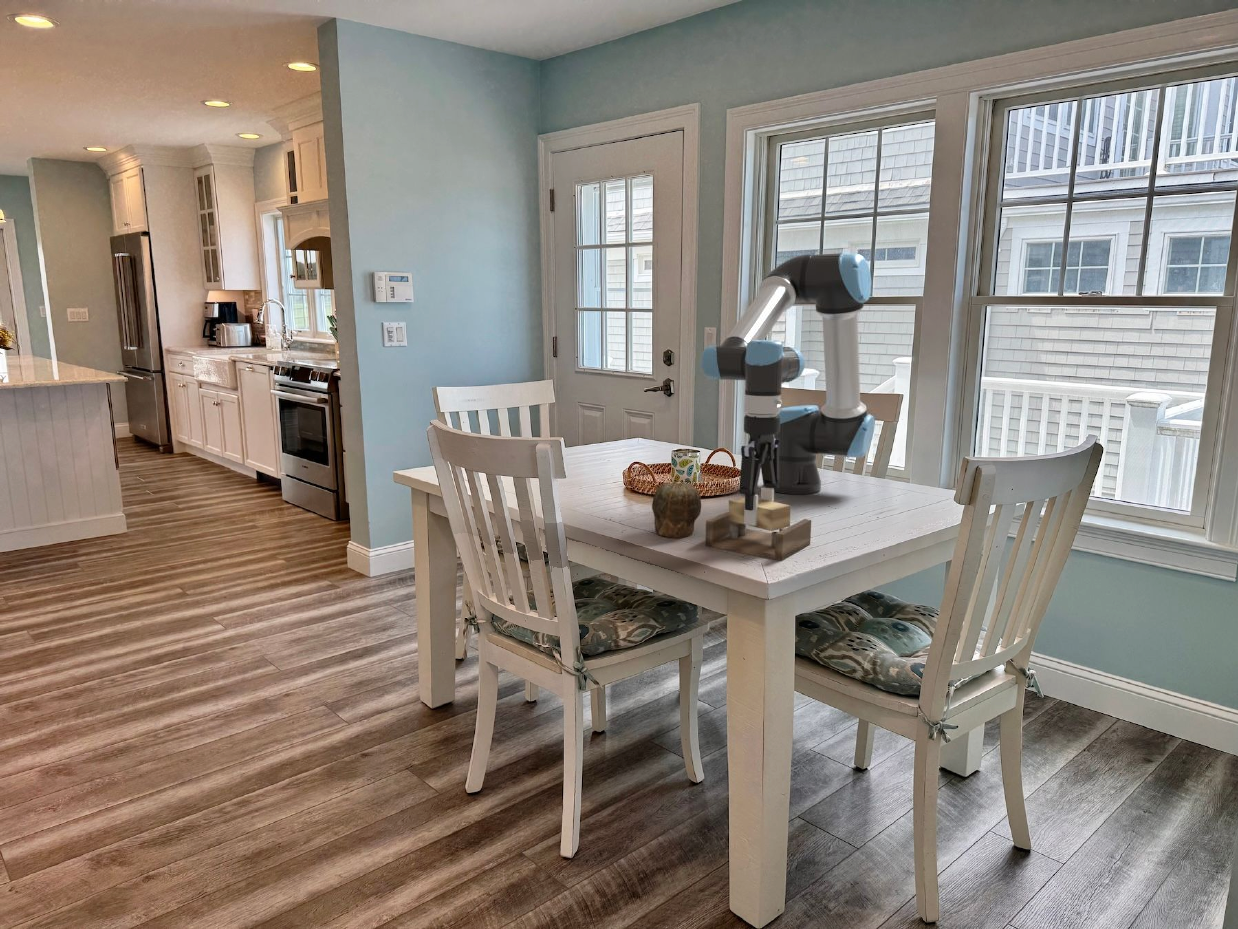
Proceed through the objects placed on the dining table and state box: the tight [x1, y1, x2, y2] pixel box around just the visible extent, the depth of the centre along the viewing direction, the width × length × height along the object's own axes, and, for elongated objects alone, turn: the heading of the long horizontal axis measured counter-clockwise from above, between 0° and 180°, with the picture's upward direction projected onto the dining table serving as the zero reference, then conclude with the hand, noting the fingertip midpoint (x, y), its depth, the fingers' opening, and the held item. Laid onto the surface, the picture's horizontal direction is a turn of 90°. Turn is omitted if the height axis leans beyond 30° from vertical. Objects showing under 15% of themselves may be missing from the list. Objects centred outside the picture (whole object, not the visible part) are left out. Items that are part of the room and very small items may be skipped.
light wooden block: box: [728, 496, 792, 532], centre depth 179 cm, size 12×6×4 cm, turn 40°
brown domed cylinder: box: [651, 481, 702, 539], centre depth 188 cm, size 11×11×12 cm
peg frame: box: [705, 511, 812, 562], centre depth 180 cm, size 18×14×6 cm
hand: (758, 520), depth 179 cm, fingers closed on light wooden block, 7 cm apart
